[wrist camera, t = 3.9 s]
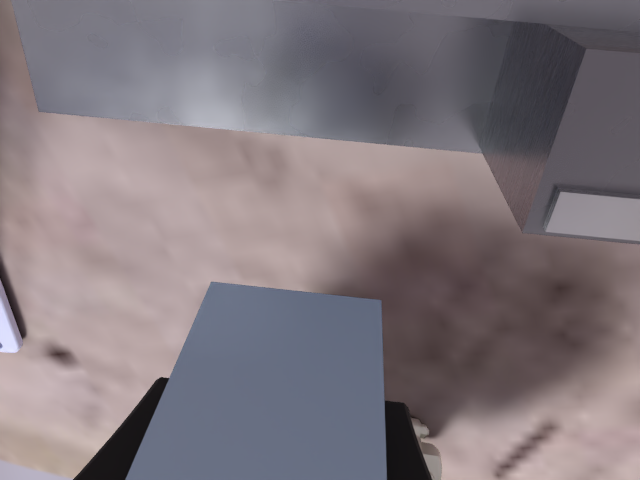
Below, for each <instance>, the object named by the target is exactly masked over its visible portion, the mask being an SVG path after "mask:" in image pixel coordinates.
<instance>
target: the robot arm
mask: <svg viewBox="0 0 640 480" xmlns="http://www.w3.org/2000/svg"><path fill="white" fill-rule="evenodd" d="M22 345H23V341H22V338H21V335H20V332H19V330H18V327H17V324H16V321H15V319H14V316H13V313H12V310H11V307H10V305H9V302H8V299H7V296H6V294H5V291H4V288H3V285H2V282H1V280H0V352H8V353H15V352H17V351H18V350H19V349H20V348H21V347H22ZM168 380H169V378H163V377H160V378H159V379H157V380H156V381H155V383H154V384H153V385H152V387H151V388H150V389H149V391H148V392H147V393H146V394H145V396H144V397H143V398H142V400H141V401H140V402H139V403H138V405H137V406H136V407H135V408H134V410H133V411H132V412H131V413H130V415H129V416H128V417H127V418H126V420H125V421H124V422H123V423H122V424H121V426H120V427H119V428H118V429H117V430H116V432H115V433H114V434H113V435H112V436H111V438H110V439H109V440H108V441H107V442H106V443H105V444H104V446H103V447H102V448H101V449H100V450H99V451H98V452H97V454H96V455H95V456H94V457H93V458H92V459H91V460H90V462H89V463H88V464H87V465H86V466H85V467H84V468H83V469H82V471H81V472H80V473H79V474H78V475H77V476H76V477H75V478H74V479H73V480H125V479H126V477H127V475H128V472H129V470H130V468H131V466H132V463H133V461H134V459H135V456H136V454H137V452H138V449H139V447H140V445H141V443H142V440H143V438H144V436H145V433H146V431H147V429H148V426H149V424H150V422H151V419H152V417H153V415H154V413H155V410H156V408H157V406H158V403H159V401H160V399H161V396H162V394H163V392H164V390H165V387H166V385H167V383H168ZM385 434H386V467H387V480H432V477H431V475H430V472H429V470H428V467H427V464H426V462H425V459H424V456H423V454H422V451H421V448H420V445H419V442H418V440H417V437H416V434H415V430H414V427H413V424H412V421H411V417H410V414H409V410H408V407H407V406H406V405H405V404H404V403H400V402H390V401H385Z"/></svg>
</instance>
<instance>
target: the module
mask: <svg viewBox="0 0 640 480" xmlns="http://www.w3.org/2000/svg"><path fill="white" fill-rule="evenodd" d="M125 480H387V467H386V434H385V401H384V369H383V336H382V304H381V300H376V299H367V298H357V297H348V296H339V295H330V294H320V293H311V292H302V291H292V290H283V289H274V288H265V287H255V286H246V285H237V284H228V283H218V282H211V284H210V286H209V288H208V291H207V293H206V295H205V297H204V300H203V302H202V304H201V307H200V309H199V311H198V314H197V316H196V318H195V320H194V323H193V325H192V327H191V330H190V332H189V334H188V337H187V339H186V341H185V343H184V346H183V348H182V350H181V353H180V355H179V357H178V360H177V362H176V364H175V367H174V369H173V371H172V373H171V376H170V378H169V380H168V383H167V385H166V387H165V390H164V392H163V394H162V396H161V399H160V401H159V403H158V406H157V408H156V410H155V413H154V415H153V417H152V419H151V422H150V424H149V426H148V429H147V431H146V433H145V436H144V438H143V440H142V443H141V445H140V447H139V449H138V452H137V454H136V456H135V459H134V461H133V463H132V466H131V468H130V470H129V472H128V475H127V477H126V479H125Z"/></svg>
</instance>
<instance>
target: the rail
mask: <svg viewBox="0 0 640 480" xmlns="http://www.w3.org/2000/svg"><path fill="white" fill-rule="evenodd" d="M11 1H12V5H13V9H14V13H15V17H16V22H17V26H18V30H19V34H20V38H21V42H22V46H23V50H24V54H25V58H26V62H27V66H28V70H29V74H30V78H31V82H32V86H33V90H34V94H35V98H36V102H37V106H38V110H39V112H47V113H58V114H68V115H79V116H90V117H100V118H111V119H121V120H132V121H143V122H153V123H164V124H174V125H185V126H196V127H206V128H217V129H227V130H238V131H249V132H259V133H270V134H281V135H291V136H302V137H312V138H323V139H334V140H344V141H355V142H365V143H376V144H387V145H397V146H408V147H419V148H429V149H440V150H450V151H461V152H472V153H482V154H483V155H484V157H485V159H486V161H487V163H488V165H489V167H490V169H491V171H492V173H493V175H494V177H495V179H496V181H497V183H498V185H499V187H500V189H501V191H502V193H503V195H504V197H505V199H506V201H507V203H508V205H509V207H510V209H511V211H512V213H513V215H514V217H515V219H516V221H517V223H518V225H519V227H520V229H521V231H522V233H528V234H539V235H549V236H559V237H569V238H580V239H590V240H600V241H610V242H620V243H631V244H640V0H11Z"/></svg>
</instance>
